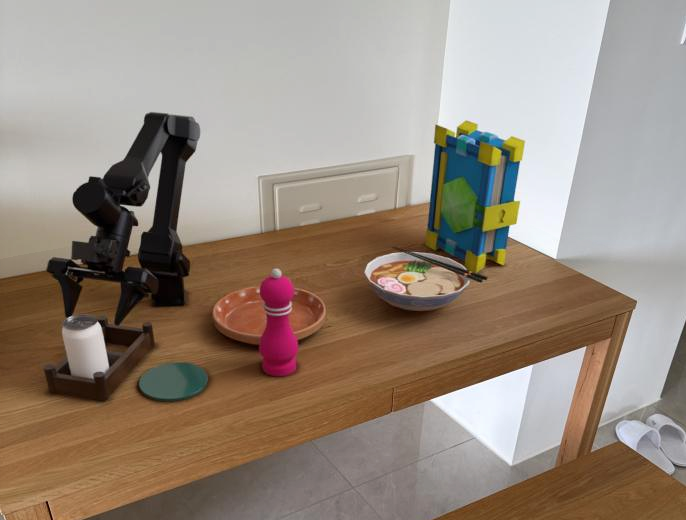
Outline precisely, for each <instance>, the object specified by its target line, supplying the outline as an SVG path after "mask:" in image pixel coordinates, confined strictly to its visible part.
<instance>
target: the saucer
mask: <svg viewBox="0 0 686 520" xmlns="http://www.w3.org/2000/svg"><path fill="white" fill-rule="evenodd" d="M260 286H261V285H258V286H252V287H246V288H242V289H238V290H236V291H232V292H230V293H228V294H226V295H225V296H223V297H221V298H220V299H219V300H218V301H217V302H216V303H215V304H214V306H213V308H212V320H213V324H214V326H215V328H216V329H217V331H219V332H220V333H221V334H223V335H224V336H226V337H227V338H229V339H233V340H235V341H239V342H241V343H245V344H249V345H255V346H259V343H260V339H261V336H262V334H263V332H264V330H265V328H266V324H267V315H266V313H265V312H264V310H263V308H264V306H263V303H264V301H263V300H262V298H261V296H260ZM291 303H292V305H291V307H292V310H291V312H290V313H289V323H290V327H291V329H292V331H293V332H294V334H295V336H296V338H297V341H298V342H299V341H300V340H302V339H305V338H307V337H309V336H311V335H313V334H315V333H317V331H319V330H320V329H321V328H322V327H323V325H324V323H325V321H326V318H327V317H326V315H327V308H326V304H325V303H324V301H323V300H322V299H321V298H320V297H319V296H317V295H316V294H314V293H312V292H311V291H308V290H305V289H302V288H298V287H294V296H293V298H292V300H291Z"/></svg>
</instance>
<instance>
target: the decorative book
mask: <svg viewBox="0 0 686 520" xmlns="http://www.w3.org/2000/svg"><path fill="white" fill-rule="evenodd" d="M525 143H526V140H523V139H521V138H518V137H515V136H510V137H509V138H507V139H506V140H505V139H502V138H500V137H499V136H498V135H497V134H495V133H491V132H489V131H480V130H478V123H475V122H472V121H470V120H466V119H465V120H464V121H463V122H462V123H460V124H459V125H458V126H457V127H456V132H455V131H453V130H451V129H449V128H447V127H445V126H442V125H438V124H435V127H434V135H433V144H435V145H434V152H433V153H434V155H433V165H432V175H431V176H432V177H431V185H430V198H429V208H428V217H427V218H428V219H427V228H426V232H425V242H424V243H425V244H424V245H425V246H426V247H428V248H429V249H431V250H433V251H437V250H438V249H442V250H443V251H444V252H446V253H448V254H449V255H450V256H453V257H455V258H458V259H459V260H461V261H463V262H464V265H463V266H464V267H465V268H466V270H468V271H471V272H474V273H477V274H478V273H479V272H480V271H481V270H482V269H484V268H485V267H486V260H487V259H489V260H491V261H493V262H495V263H496V264H499V265H502V266H505V262H506V256H507V245H508V240H509V233H510V227H511V226H514V225H517V223H518V216H519V210H520V204H521V200H515V195H516V188H517V184H518V177H519V169H520V165H521V161H523V156H524V150H525Z"/></svg>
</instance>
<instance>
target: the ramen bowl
mask: <svg viewBox="0 0 686 520" xmlns="http://www.w3.org/2000/svg"><path fill="white" fill-rule="evenodd" d="M391 248H392V249H394V250H395V251H399V252H392V253H387V254H384V255H380V256H377V257H376V258H374V259H373V260H371V261H370V262H368V263H367V265H366V266H365V270H364V275H365V276H366V279H367V280H368V282H369V284H370V286H371V287H372V289H373V290H374V292H375V294H376V295H377V296H378V297H379V298H380V299H382V300H383V301H384V302H386V303H388V304H389V305H391V306H393V307H395V308H399V309H402V310H406V311H413V312H425V311H426V312H427V311H433V310H436V309H440V308H443V307H446V306H448V305H449V304H452V302H453V301H455V300H456V299H457V298H458V297H459V296H460V295H461V294H462V293H463V292H464V291H465V290H466V289H467V287H468V286H469V284H470V281H471V280H472V281H475V282H478V283H481V284H482V283H483V282H484V281H488V276H486V275H483V274H480V273H478V272H477V273H474V272H472V271H470V270H468V269H467V268H465V267H464V266H465V265H463V264H461V263H459V262H457V261H455V260H453V259H451V258H449V257H445V256H442V255H438V254H434V253H429V252H428V253H427V252H417V251H410V250H406V249H404V248H401V247H397V246H391ZM483 280H484V281H483Z"/></svg>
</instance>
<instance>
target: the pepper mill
mask: <svg viewBox="0 0 686 520" xmlns="http://www.w3.org/2000/svg"><path fill="white" fill-rule="evenodd" d="M270 274H271V275H269V276H267V277H265V278H264V279H263V280H262V281H261V284H260V285H259V286H260V296H261V298H262V300H263V301H264V303H263V306H264V308H263V310H264V312H265V313H266V315H267V324H266V328H265V330H264V332H263V334H262V336H261V339H260V343H259V345H258V351H259V354H260V356H261V357H262V361H261V362H262V363H261V364H262V370H263V371H264V373H265V374H267V375H269V376H272V377H286V376H289V375H291V374H293V373H294V372H296V370H297V358H296V356H297V355H298V353H299V340H298V341H297V338H296V336H295V334H294V332H293V331H292V329H291V327H290V323H289V313H290V312H291V310H292V307H291V305H292V303H291V300H292V298H293V296H294V288H295V287H294V284H293V282H292V281H291V280H290V279H289V278H288V277H286V276H284V275H282V271H281V269H280V268H273V269H272V270H271V273H270Z"/></svg>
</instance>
